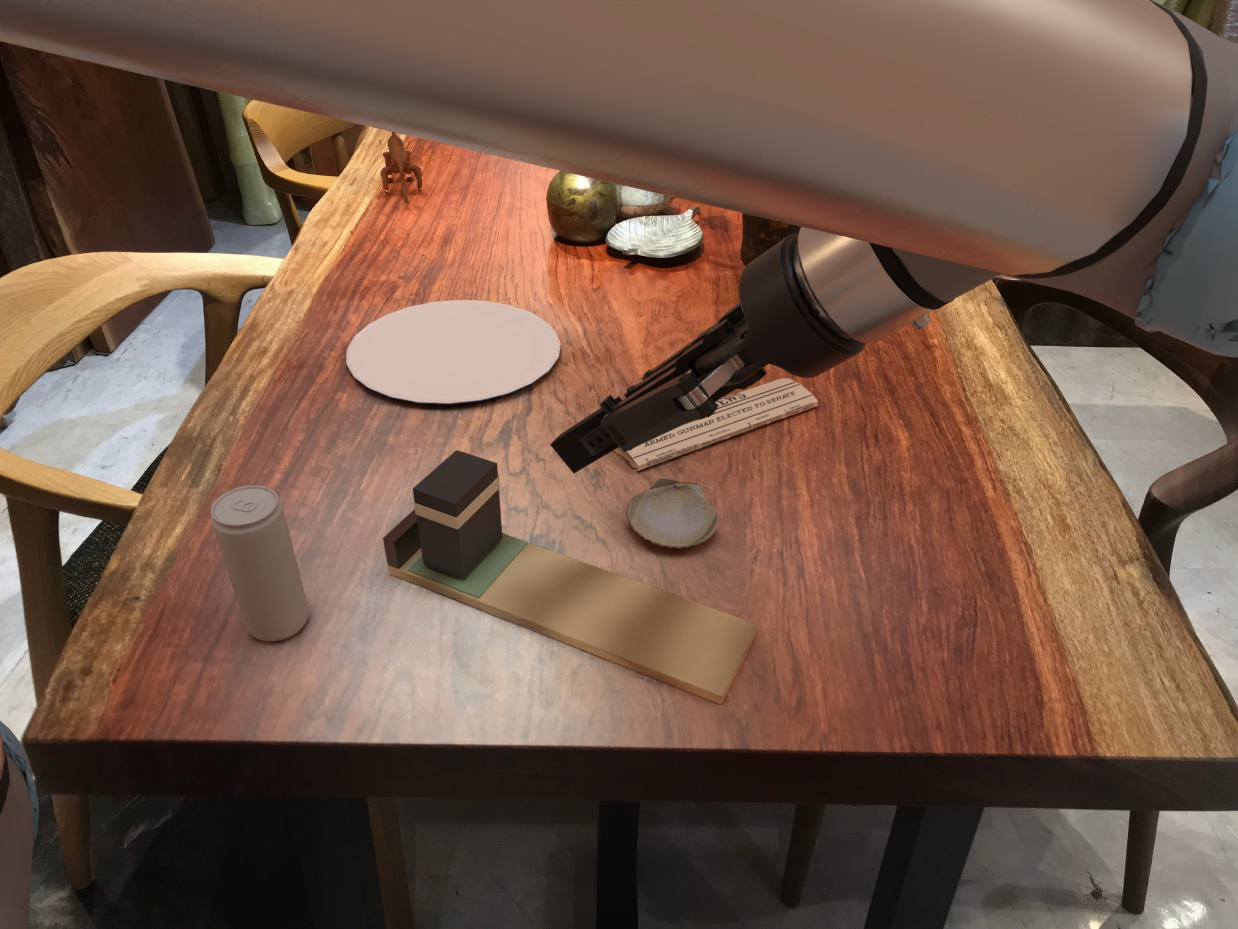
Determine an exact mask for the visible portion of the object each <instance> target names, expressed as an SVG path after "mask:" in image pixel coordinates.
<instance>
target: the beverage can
mask: <svg viewBox="0 0 1238 929" xmlns="http://www.w3.org/2000/svg"><path fill="white" fill-rule="evenodd" d="M210 515H211V525H212V528H213V531H214V535H215V538H216V540H217V544H218V547H219V550H220V553H221V557H222V559H223V560H222V561H223V563H224V565H225V569H226V572H227V574H228V578H229V580H230V583H231V587H232V590H233V592H234V596H235V599H236V601H237V604H238V608H239V610H240V613H241V617H242V619H243V622H244V624H245V628H246V629H247V632H248V633H249V634H250V635H251V636H252V637H254V638H256V639H257V640H258V641H259V640H260V641H264V642H279V641H280V642H281V641H283V640H284V641H285V640H287V639H289V638H291V637H293V636H294V635H296V634H297V633H298V632H300V631H301V629H303V628H304V626H305V625H306V623H307V622H308V619H309V615H310V609H309V608H310V607H309V603H308V601H307V600H308V599H307V596H306V592H305V588H304V585H303V581H302V577H301V572H300V569H299V568H300V567H299V565H298V561H297V558H296V553H295V549H294V546H293V542H292V537H291V534H290V529H289V526H288V523H287V522H288V521H287V518H286V514H285V510H284V506H283V503H282V502H281V500H280V498H279V496H278V494H277V492H276V491H275V490H273V489H272V488H270V487H267V486H265V485H257V484H255V485H254V484H252V485H250V484H249V485H244V486H238V487H235V488H232V489H230V490H228V491H225V492H224V493H222V494H221V495H220V496H219V497H217V498H216V499H215V501H214V502H213V504H212V505H211V507H210Z"/></svg>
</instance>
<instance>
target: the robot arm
mask: <svg viewBox="0 0 1238 929" xmlns="http://www.w3.org/2000/svg"><path fill="white" fill-rule="evenodd" d="M0 42H1V43H2V42H3V43H6V44H10V45H14V46H19V47H23V48H26V49H27V48H28V49H33V50H36V51H41V52H45V53H49V54H53V55H58V56H62V57H67V58H70V59H75V60H79V61H83V62H88V63H92V64H97V65H102V66H105V67H110V68H114V69H118V70H123V71H126V72H132V73H136V74H140V75H145V76H148V77H153V78H156V79H157V78H158V79H161V80H166V81H169V82H174V83H178V84H182V85H183V84H184V85H186V86H187V85H188V86H191V87H196V88H200V89H204V90H208V91H209V90H210V91H213V92H218V93H221V94H226V95H231V96H235V97H239V98H243V99H248V100H252V101H257V102H261V103H265V104H270V105H274V106H279V107H283V108H287V109H291V110H296V111H300V112H304V113H309V114H312V115H317V116H320V117H326V118H330V119H334V120H338V121H343V122H347V123H352V124H355V125H360V126H365V127H369V128H373V129H378V130H383V131H386V132H391V133H392V132H394V133H396V134H398V135H399V134H400V135H404V136H408V137H411V138H416V139H421V140H425V141H430V142H434V143H438V144H442V145H447V146H451V147H456V148H459V149H464V150H468V151H473V152H476V153H481V154H485V155H488V156H489V155H490V156H495V157H499V158H503V159H506V160H507V159H508V160H512V161H516V162H519V163H520V162H521V163H524V164H529V165H533V166H537V167H541V168H546V169H550V170H554V171H558V172H563V173H568V174H571V175H576V176H580V177H585V178H590V179H592V180H593V179H594V180H598V181H602V182H607V183H610V184H614V185H619V186H624V187H628V188H632V189H636V190H641V191H645V192H650V193H654V194H658V195H662V196H666V197H671V198H675V199H679V200H684V201H688V202H693V203H696V204H702V205H706V206H709V207H715V208H719V209H723V210H727V211H732V212H736V213H741V214H742V213H744V214H749V215H753V216H757V217H762V218H766V219H770V220H774V221H779V222H783V223H787V224H792V225H796V226H800V227H801V228H800V231H799V234H791V235H789V236H787V237H786V238H785V239H783V240H782V241H780V242H779V243H777V244H776V245H775V246H773V247H772V248H770V249H769V250H767V251H766V252H764V253H763V254H762V255H760V256H759V257H757V258H756V259H754V260H753V261H752V262H750V263H749V264H748V265H747V266H746V267H745V266H744V269H743V270H742V272H741V274H740V277H739V280H738V281H739V283H738V298H739V302H738V303H737V304H736V305H734V306H732V307H731V308H730V309H728V310H727V311H726V312H725V313H724V315H722V317H721V318H719V321H717V322H716V323H713V325H711V326H709V327H708V328H706V329H705V330H704V331H702V332H700V334H698V335H697V337H696V338H694V339H693V340H692V341H690V342H689V343H688V344H686V345H685V346H683V347H682V348H680V349H679V350H677V351H676V352H674V353H673V354H672V355H670V356H669V357H667V358H666V359H664V360H663V361H662V362H660V363H659V364H658V365H656V366H655V367H653V368H652V369H648V370H647V371H645V372H644V373H643V375H642V377H641V378H640V379H641V381H640V382H637V383H636V384H634V385H630V386H629V387H628V388H627V389H626V392H625V393H624V394H623V396H624V399H623V398H622V397H621V396H620V395H618V396H617V397H615V398H614V396H613V395H612V394H609V395H608V396H607V397H605V398H604V399H602V401H600V402H599V404H598V405H599V406H600V408H599V409H597V410H595V411H594V412H592V413H591V414H589V415H588V416H586V417H585V418H583V419H581V420H580V421H579V422H577V423H575V424H574V425H572V426H571V427H569V428H567V429H566V430H565V431H563V432H561V433H560V434H559V435H558V436H557V437H555V439H554V440H553V441H552V442H551V443H550V447H551V448H552V449H553V450H554V452H555V453H557V455H558V457H559V458H560V459H561V460H562V462H564V464H565V465H566V466H567V468H568V469H569V470H570V471H571V473H573V474H576V473H578V472H579V471H581V470H583V469H584V468H587V467H588V466H590V465H592V464H593V463H595V462H597V461H598V460H599V459H601V458H603V457H605V456H607V455H608V454H610V453H611V452H614V450H615V449H617V448H618V447H620V448H621V449H622V451H623V452H627V451H630V450H632V449H633V448H635V447H637V446H639V445H641V444H644V443H646V442H648V441H650V440H652V439H654V438H656V437H658V436H661V435H663V434H665V433H667V432H669V431H671V430H673V429H675V428H678V427H680V426H682V425H684V424H686V423H688V422H690V421H696V420H701V419H704V418H706V417H710V416H711V415H713V414H714V412H715V411H716V410H717V408H718V405H717V404H716V401H717V400H719V399H721V398H724V397H726V396H728V395H729V394H730V393H732V392H734V391H736V390H747V388H748V389H749V388H750V387H751V386H753V385H755V384H756V383H758V382H759V381H761V380H762V379H763V378H764V377H766V376H767V373H768V372H767V371H766V369H765V367H766V366H768V365H771V366H775V367H777V368H779V369H781V370H783V371H785V372H786V373H788V374H789V375H791V376H794V377H797V378H801V379H813V378H816V377H819V376H821V375H823V374H824V373H826V372H829V371H830V370H832V369H833V368H836V367H837V366H838V365H841V364H843V363H844V362H846V361H848V360H849V359H851V358H853V357H855V356H857V355H859V354H860V353H861V352H863V350H864V349H865V347H866V345H873V344H876V343H879V342H880V341H883V339H885V338H887V337H890V336H891V335H893V334H895V333H897V332H898V331H900V330H901V329H902V328H904V327H905V326H907V325H909V324H910V325H911V326H912V328H914V329H915V330H922V329H925V328H927V327H928V325H929V324H930V323H931V321H932V320H931V317H930V314H931V313H933V312H934V311H936V310H939V309H941V308H943V307H944V306H946V305H948V304H949V303H952V302H953V301H955V299H957V298H959V297H960V296H963V295H965V294H966V293H969V292H970V291H972V290H974V289H976V288H977V287H980V286H982V285H984V284H986V283H988V282H990V281H991V280H993V279H996V278H997V277H999V276H1002V275H1004V276H1006V277H1010V278H1013V279H1015V280H1018V281H1023V282H1027V283H1031V284H1035V285H1040V286H1045V287H1050V288H1053V289H1058V290H1062V291H1066V292H1070V293H1073V294H1075V295H1079V296H1081V297H1085V298H1088V299H1090V300H1093V301H1095V302H1098V303H1100V304H1102V305H1103V306H1106V307H1109V308H1110V309H1113V310H1115V311H1117V312H1119V313H1121V314H1123V315H1125V316H1127V317H1128V318H1130V319H1132V320H1133V321H1134V326H1136V327H1137V328H1140V329H1142V330H1144V331H1145V332H1147V333H1153V332H1161V333H1163V334H1165V335H1167V336H1170V337H1172V338H1175V339H1176V340H1179V341H1182V342H1183V343H1186V344H1189V345H1190V346H1193V347H1195V348H1197V349H1201V350H1202V351H1205V352H1207V353H1210V354H1212V355H1215V356H1221V357H1229V358H1238V43H1236V42H1233V41H1230V40H1228V39H1225V38H1223V37H1220V36H1219V35H1218V34H1216V33H1214V32H1212V31H1211V30H1209V29H1207V28H1205V27H1204V26H1202V25H1201V24H1199V23H1197V22H1195V21H1194V20H1192V19H1190V18H1188V17H1186V16H1185V15H1184V14H1181V13H1180V12H1178V11H1175V10H1173V9H1171V8H1170V7H1168V6H1166V5H1163V4H1161V3H1158V2H1156V1H1154V0H0ZM39 804H40V803H39V797H38V792H37V786H36V783H35V780H34V777H33V770H32V765H31V763H30V759H29V757H28V754H27V752H26V750H25V748H24V746H23V745H22V743H21V741H20V740H19V738H18V737H17V736H16V734H15V733H14V732H13V731H12V729H11V728H9V727H8V726H7V725H6V724H5V723H3V721H1V720H0V929H29V919H30V904H31V902H30V901H31V886H32V872H33V871H32V870H33V854H34V845H35V840H36V838H37V835H38V831H39V819H40V811H39V810H40V808H39Z"/></svg>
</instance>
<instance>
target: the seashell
mask: <svg viewBox="0 0 1238 929" xmlns="http://www.w3.org/2000/svg"><path fill="white" fill-rule="evenodd" d="M626 517H627V518H626V519H627V521H628V523H629V525H630V527H631V528H632V529H633V531H634V532H635V533H637V535H638V537H640V538H643V540H644V541H646V542H651V544H652V545H659V547H661V548H665V547H666V548H668V549H674V548H675V549H677V550H681V549H682V548H683V549H689V548H691V547H697V546H698V545H700V544H703V543H704V542H705V541H707V540H709V539H710V538H711V536H712V535H714V534H715V531H716V530H717V529H718V525H719V517H718V512H717V510H716V509H715V507H714V505H713V504H712V503H711V502H710V501H709V499H708V496H707V495H706V493H705V491H704V488H703V487H702V485H701V484H700V483H696V482H689V481H677V480H675V479H669V478H661V477H658V478H657V479H656V481H655V482H654V483H653V486H652V487H649V488H648V489H646V490H644V491H641V492H640V493H638V494H636V495H634V496H633V498H632V499H630V500H629V502H628V504H627V508H626Z"/></svg>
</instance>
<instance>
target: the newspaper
mask: <svg viewBox="0 0 1238 929" xmlns="http://www.w3.org/2000/svg"><path fill="white" fill-rule="evenodd" d="M716 404H717V405H718V408H717V410H716V411H715V412H714V414H713V415H711V416H710V417H706V418H704V419H701V420H696V421H690V422H688V423H686V424H684V425H682V426H680V427H678V428H675V429H673V430H671V431H669V432H667V433H665V434H663V435H661V436H658V437H656V438H654V439H652V440H650V441H648V442H646V443H644V444H641V445H639V446H637V447H635V448H633V449H632V450H630V451H627V452H623V451H622V449H621V448H620V447H618V448H617V449H615V450H613V452H615V453H616V454H618V455H620V456H622V457H623V458H625V459H626V460H627V461H628V463H630V466H631V467H632V468H634V469H633V471H634V472H639V471H642V470H644V469H647V468H650V467H652V466H655V465H659V464H661V463H664V462H667V461H670V460H672V459H674V458H678V457H681V456H683V455H686V454H689V453H691V452H695V451H697V450H699V449H703V448H706V447H708V446H711V445H714V444H717V443H719V442H722V441H724V440H727V439H730V438H732V437H735V436H739V435H742V434H744V433H747V432H750V431H752V430H755V429H758V428H760V427H763V426H766V425H769V424H771V423H772V424H773V423H775V422H778V421H780V420H783V419H785V418H788V417H790V416H795V415H796V414H800V413H801V412H804V411H807V410H811V409H813V408H815V407H818V406H819V400H818V399H817V398H816V397H815V395H814V394H813V393H811V391H809V389H807V388H806V387H805V386H804V385H803V384H802V383H799V382H797V381H796V380H793V379H792V378H786V377H780V378H779V379H775V380H772V381H769V382H766V383H764V384H763V383H762V384H760V385H758V386H757V385H756V386H754V387H752V388H748V389H744V390H742V391H740V392H737V393H733V394H731V395H726V396H724V397H722V398H720V399H719V400H717V401H716Z"/></svg>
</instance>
